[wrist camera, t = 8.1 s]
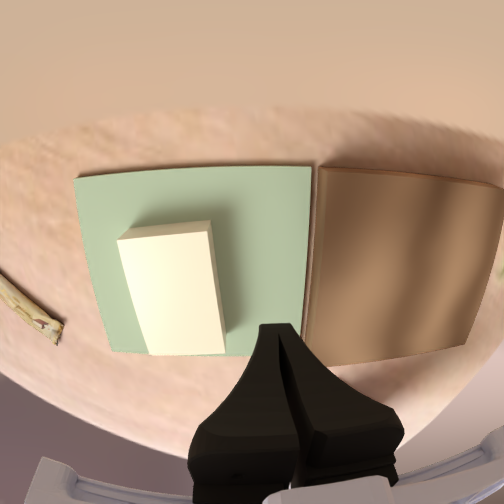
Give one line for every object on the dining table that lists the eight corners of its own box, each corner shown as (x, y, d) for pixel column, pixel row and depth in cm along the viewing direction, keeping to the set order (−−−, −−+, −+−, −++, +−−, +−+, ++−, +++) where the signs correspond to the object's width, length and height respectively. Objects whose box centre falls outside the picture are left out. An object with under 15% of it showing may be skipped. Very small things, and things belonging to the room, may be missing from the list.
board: (491, 184, 17) (508, 190, 15) (453, 330, 22) (464, 344, 20) (318, 166, 17) (327, 171, 15) (303, 350, 22) (308, 368, 20)
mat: (309, 166, 17) (311, 167, 16) (296, 350, 22) (297, 353, 21) (76, 177, 16) (73, 178, 16) (113, 348, 21) (112, 351, 21)
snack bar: (-20, 282, 19) (-24, 264, 17) (-11, 271, 20) (-13, 252, 18) (56, 348, 21) (58, 336, 19) (64, 335, 22) (67, 322, 20)
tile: (116, 240, 15) (128, 228, 17) (149, 355, 18) (156, 336, 20) (206, 231, 15) (210, 219, 17) (225, 353, 18) (226, 334, 20)
